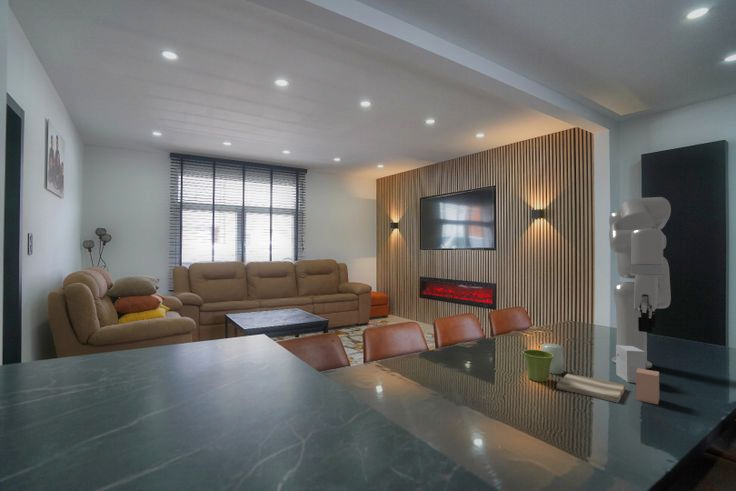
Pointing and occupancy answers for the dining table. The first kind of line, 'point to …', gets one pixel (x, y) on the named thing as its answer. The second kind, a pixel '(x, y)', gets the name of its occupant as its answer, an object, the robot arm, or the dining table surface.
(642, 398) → the block
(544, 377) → the plant pot
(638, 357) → the small box
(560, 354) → the pale rounded smooth block
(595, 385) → the board
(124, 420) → the dining table surface
